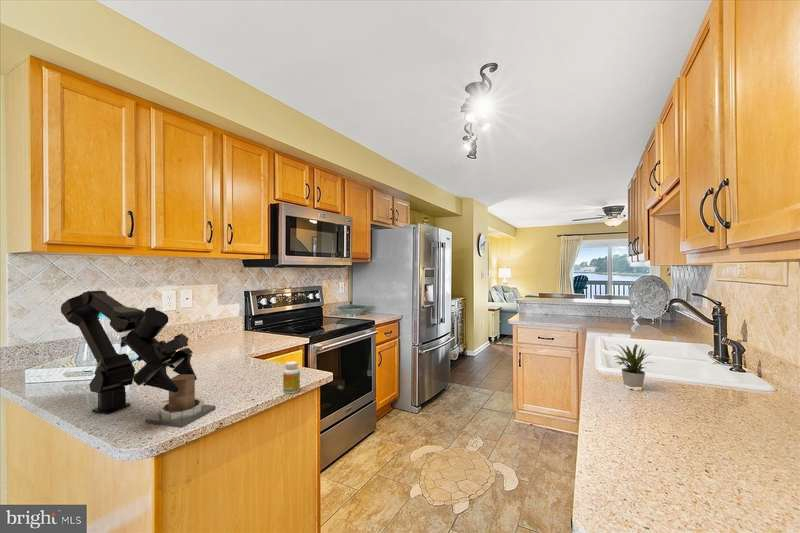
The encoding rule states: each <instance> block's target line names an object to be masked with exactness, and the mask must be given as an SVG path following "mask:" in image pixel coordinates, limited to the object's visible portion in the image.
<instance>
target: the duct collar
mask: <svg viewBox="0 0 800 533" xmlns="http://www.w3.org/2000/svg"><path fill="white" fill-rule="evenodd" d="M216 407H217V406H216V405H212V404H205V402H204V400H203V399H202V398H199V397H198V398H197V397H195V407H193V408H191V409H187V410H183V411H175V412H169V402H167V403H164V404H162V405H161V406H160V407H159V409H158V412H157V413H155V414H152V415H150V416H148V417H146V418H145V419H144V423H146V424H152V425H153V424H154V425H159V424H160V426H168V427H175V428H183V427H186V426H187V425H189V424H191V423H193V422H195V421H197V420H198V419H200V418H202V417H204V416H205V415H207V414H209V413H211V412H213V411H215V410H216Z"/></svg>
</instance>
